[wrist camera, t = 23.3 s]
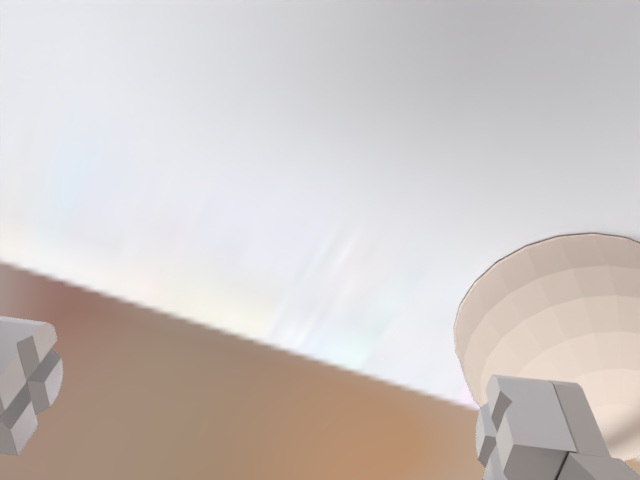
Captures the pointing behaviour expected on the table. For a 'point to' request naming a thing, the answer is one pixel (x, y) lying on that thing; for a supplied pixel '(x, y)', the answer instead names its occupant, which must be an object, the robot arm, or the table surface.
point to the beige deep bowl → (562, 327)
